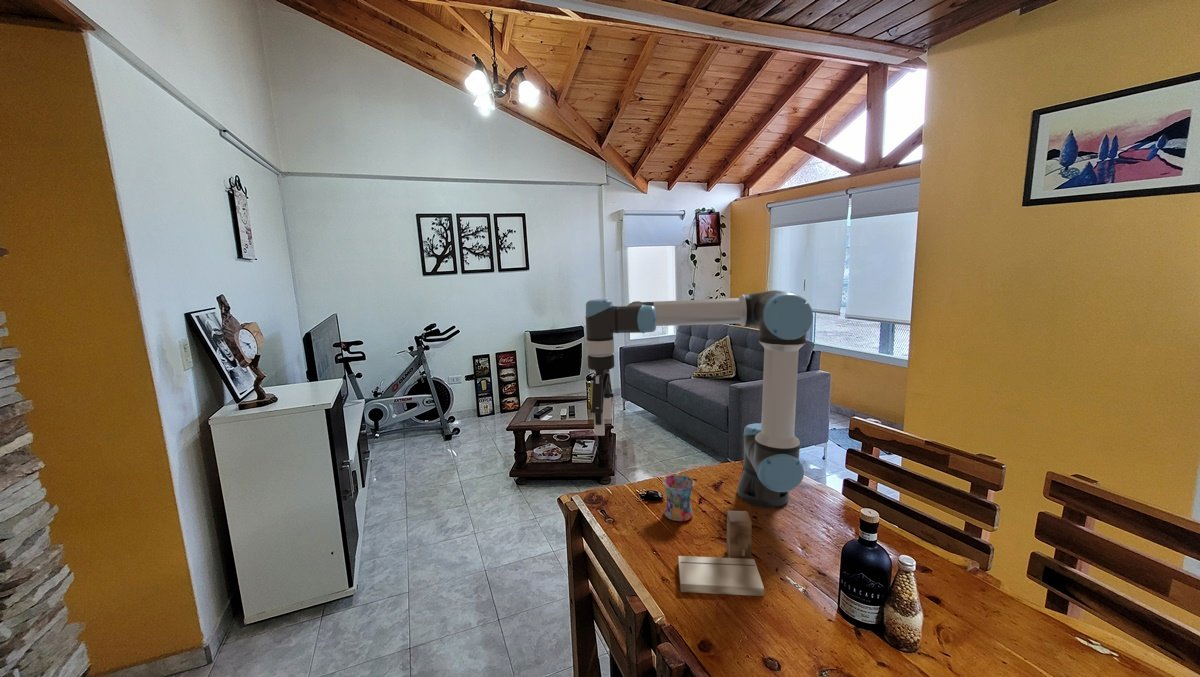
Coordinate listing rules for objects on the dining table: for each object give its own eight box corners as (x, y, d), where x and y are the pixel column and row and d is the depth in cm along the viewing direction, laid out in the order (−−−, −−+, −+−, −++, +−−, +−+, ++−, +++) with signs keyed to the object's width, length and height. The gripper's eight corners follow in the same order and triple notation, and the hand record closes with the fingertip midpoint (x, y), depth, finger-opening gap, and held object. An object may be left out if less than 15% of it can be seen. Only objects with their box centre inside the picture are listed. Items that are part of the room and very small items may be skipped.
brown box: (746, 551, 114) (747, 511, 113) (754, 574, 106) (755, 531, 104) (726, 550, 115) (727, 510, 113) (732, 573, 106) (733, 530, 105)
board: (753, 566, 109) (754, 558, 108) (763, 596, 99) (764, 587, 98) (678, 563, 111) (678, 555, 110) (680, 591, 101) (680, 583, 101)
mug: (682, 528, 126) (682, 492, 124) (656, 516, 132) (655, 482, 131) (705, 511, 134) (705, 477, 132) (679, 500, 140) (679, 468, 139)
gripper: (595, 346, 139) (598, 412, 143) (578, 363, 115) (581, 442, 118) (619, 346, 138) (621, 413, 141) (606, 363, 114) (610, 443, 117)
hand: (603, 426), depth 130 cm, fingers open, 13 cm apart
